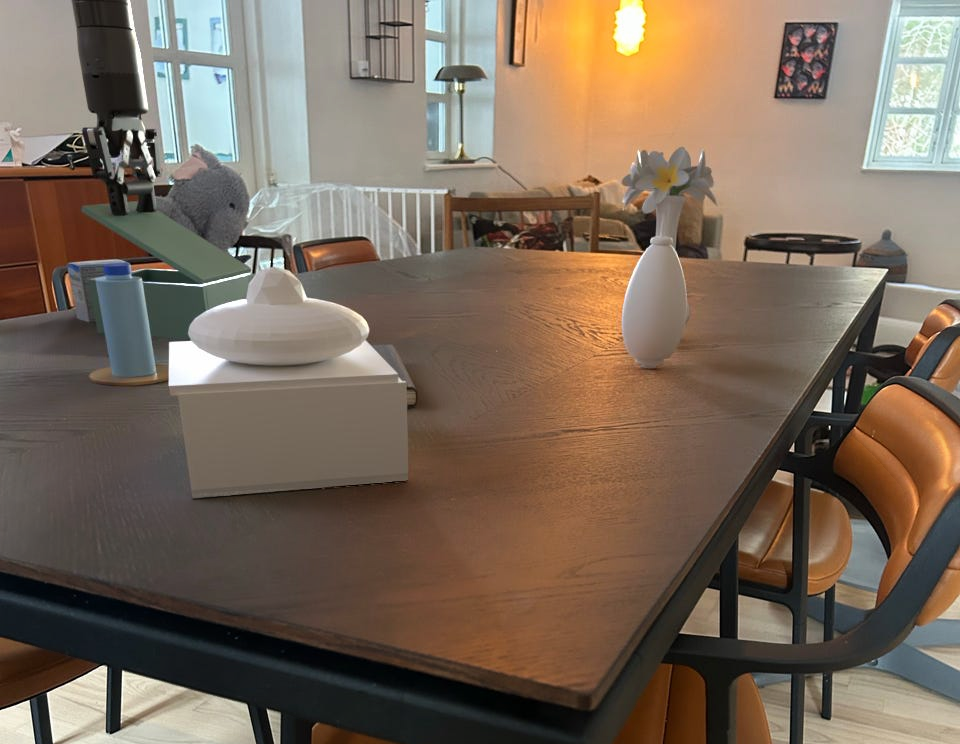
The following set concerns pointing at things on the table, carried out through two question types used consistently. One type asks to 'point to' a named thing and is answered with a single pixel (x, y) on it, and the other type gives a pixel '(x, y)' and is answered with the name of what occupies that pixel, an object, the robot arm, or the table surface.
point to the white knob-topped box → (286, 394)
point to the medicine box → (85, 285)
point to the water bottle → (125, 321)
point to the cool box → (177, 299)
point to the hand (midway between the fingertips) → (135, 213)
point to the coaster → (108, 378)
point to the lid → (167, 238)
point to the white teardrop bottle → (655, 304)
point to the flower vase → (668, 187)
